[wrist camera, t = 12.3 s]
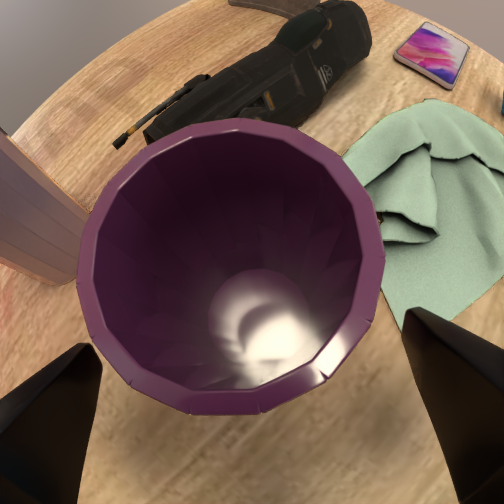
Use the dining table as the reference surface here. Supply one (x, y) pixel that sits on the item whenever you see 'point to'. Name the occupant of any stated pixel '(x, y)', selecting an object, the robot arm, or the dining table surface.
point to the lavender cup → (37, 219)
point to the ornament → (503, 105)
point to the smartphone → (434, 54)
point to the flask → (278, 6)
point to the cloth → (435, 205)
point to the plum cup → (230, 267)
